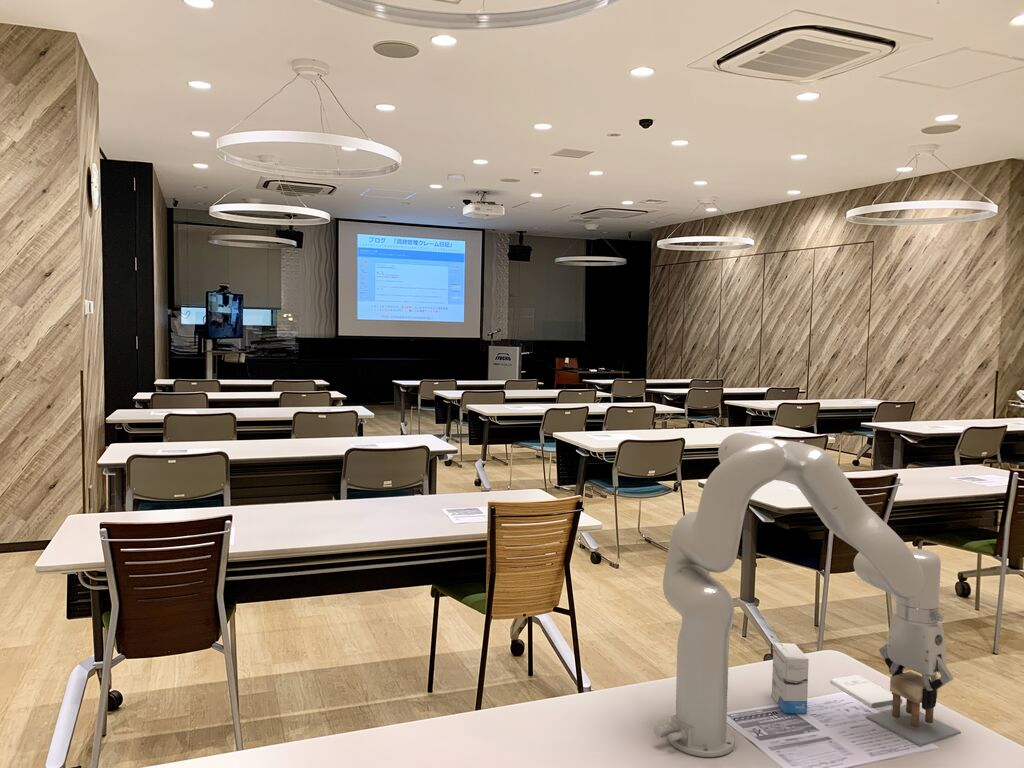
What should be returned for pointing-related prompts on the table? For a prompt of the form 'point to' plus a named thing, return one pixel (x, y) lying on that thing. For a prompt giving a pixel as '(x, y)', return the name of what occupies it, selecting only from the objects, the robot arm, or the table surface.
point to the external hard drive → (864, 691)
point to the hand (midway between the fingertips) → (913, 699)
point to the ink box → (790, 678)
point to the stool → (909, 696)
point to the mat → (916, 735)
